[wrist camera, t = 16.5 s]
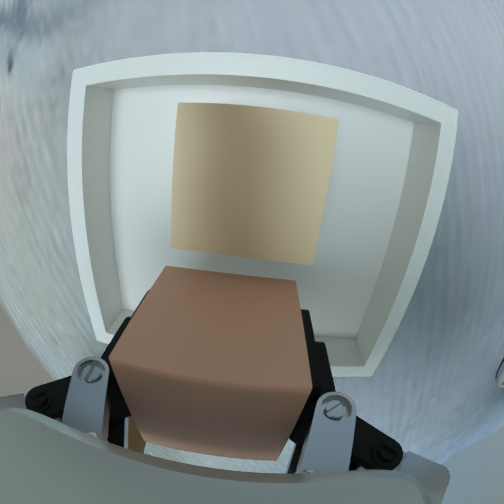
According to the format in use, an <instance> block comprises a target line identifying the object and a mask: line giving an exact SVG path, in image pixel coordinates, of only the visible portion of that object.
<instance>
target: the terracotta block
mask: <svg viewBox="0 0 504 504" xmlns="http://www.w3.org/2000/svg"><path fill="white" fill-rule="evenodd" d="M108 358H109V361H110V364H111V366H112V369H113V372H114V374H115V377H116V380H117V382H118V385H119V387H120V390H121V392H122V395H123V397H124V399H125V402H126V404H127V406H128V408H129V411H130V413H131V415H132V417H133V419H134V421H135V424H136V426H137V428H138V430H139V432H140V434H141V436H142V438H143V440H144V441H146V442H150V443H153V444H157V445H161V446H166V447H170V448H175V449H179V450H184V451H190V452H195V453H201V454H207V455H214V456H222V457H230V458H240V459H253V460H274V461H277V459H278V457H279V456H280V454H281V452H282V450H283V448H284V446H285V444H286V442H287V440H288V438H289V436H290V435H291V433H292V431H293V429H294V426H295V424H296V422H297V420H298V418H299V416H300V414H301V412H302V410H303V408H304V405H305V403H306V401H307V399H308V397H309V394H310V392H311V390H312V381H311V373H310V366H309V359H308V353H307V346H306V339H305V333H304V327H303V320H302V314H301V308H300V302H299V296H298V291H297V285H296V281H295V280H285V279H276V278H266V277H257V276H248V275H239V274H230V273H222V272H213V271H205V270H197V269H189V268H181V267H173V266H165V267H164V269H163V270H162V272H161V273H160V275H159V276H158V278H157V279H156V281H155V282H154V284H153V286H152V287H151V289H150V290H149V292H148V293H147V295H146V296H145V298H144V299H143V301H142V303H141V304H140V306H139V307H138V309H137V311H136V312H135V314H134V315H133V317H132V319H131V320H130V322H129V324H128V325H127V327H126V328H125V330H124V332H123V333H122V335H121V337H120V339H119V340H118V342H117V344H116V345H115V347H114V349H113V350H112V352H111V354H110V356H109V357H108Z"/></svg>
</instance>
